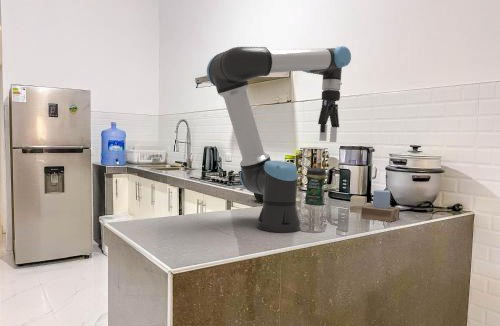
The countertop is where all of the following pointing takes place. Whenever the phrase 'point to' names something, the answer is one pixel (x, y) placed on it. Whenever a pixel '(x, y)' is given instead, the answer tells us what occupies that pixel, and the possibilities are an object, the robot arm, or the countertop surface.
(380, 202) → the slate block
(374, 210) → the walnut block
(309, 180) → the coffee jar
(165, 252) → the countertop surface
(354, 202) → the birch block
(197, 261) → the countertop surface
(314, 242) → the countertop surface
